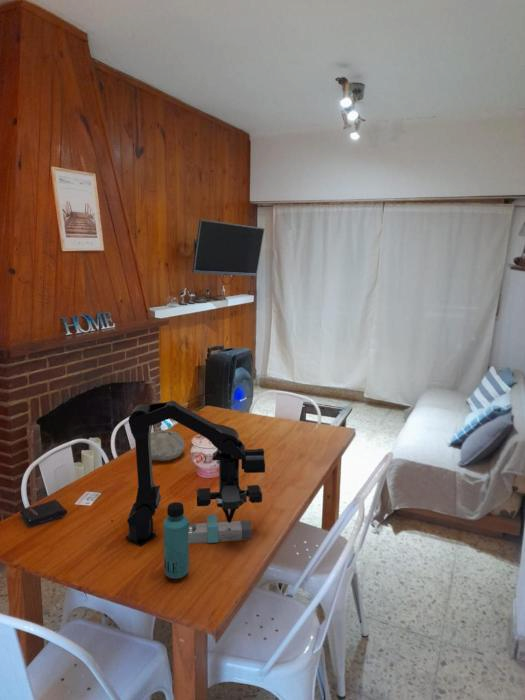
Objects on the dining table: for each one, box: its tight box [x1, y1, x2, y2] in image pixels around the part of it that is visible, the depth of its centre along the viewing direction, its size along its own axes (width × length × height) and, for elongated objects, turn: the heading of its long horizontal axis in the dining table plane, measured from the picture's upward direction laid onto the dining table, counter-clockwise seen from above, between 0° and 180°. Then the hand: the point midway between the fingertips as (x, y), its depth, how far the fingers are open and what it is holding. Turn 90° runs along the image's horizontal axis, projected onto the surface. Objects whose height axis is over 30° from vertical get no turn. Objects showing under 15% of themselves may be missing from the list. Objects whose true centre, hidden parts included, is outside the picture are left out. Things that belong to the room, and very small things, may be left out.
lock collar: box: [206, 514, 219, 544], centre depth 138 cm, size 3×6×5 cm, turn 8°
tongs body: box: [188, 522, 253, 545], centre depth 138 cm, size 20×4×4 cm, turn 98°
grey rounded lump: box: [150, 429, 186, 462], centre depth 192 cm, size 18×18×10 cm
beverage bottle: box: [162, 501, 190, 579], centre depth 120 cm, size 6×7×20 cm
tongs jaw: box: [194, 520, 252, 528], centre depth 140 cm, size 18×2×3 cm, turn 98°
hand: (229, 521), depth 139 cm, fingers closed
